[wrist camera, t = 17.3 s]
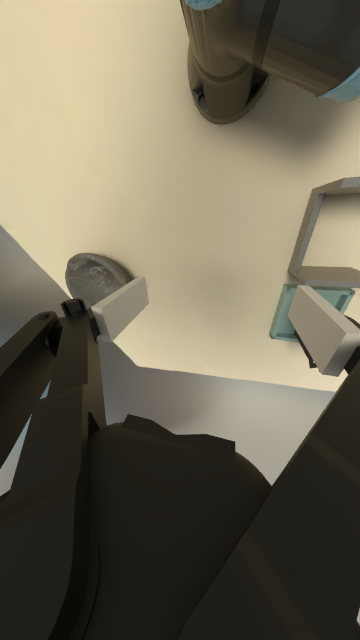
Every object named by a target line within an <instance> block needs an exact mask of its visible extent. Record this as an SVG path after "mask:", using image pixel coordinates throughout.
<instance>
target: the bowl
mask: <svg viewBox="0 0 360 640" xmlns="http://www.w3.org/2000/svg"><path fill="white" fill-rule="evenodd" d="M65 279H66V284H67V287H68V290H69V292H70V294H71V295H72V297H73V299H76V298H81V299H83V301H84V303H85V306H86V309H89V308H91V307H92V306H94V305H95V304H97V303H98V302H100V301H101V300H103V299H105V298H106V297H108V296H109V295H111V294H112V293H114V292H115V291H117V290H118V289H120V288H122V287H123V286H125V285H126V284H128V283H129V282H131V281H130V279H129V277H128V275H127V274H126V272H125V271H124V270H123V269H122V268H121V267H120V266H119V265H118V264H117V263H115V262H114V261H112V260H111V259H109V258H106V257H104V256H101V255H97V254H93V253H81V254H77V255H75V256H73V257H72V258H71V259H70V260H69V261H68V264H67V269H66V273H65Z"/></svg>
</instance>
